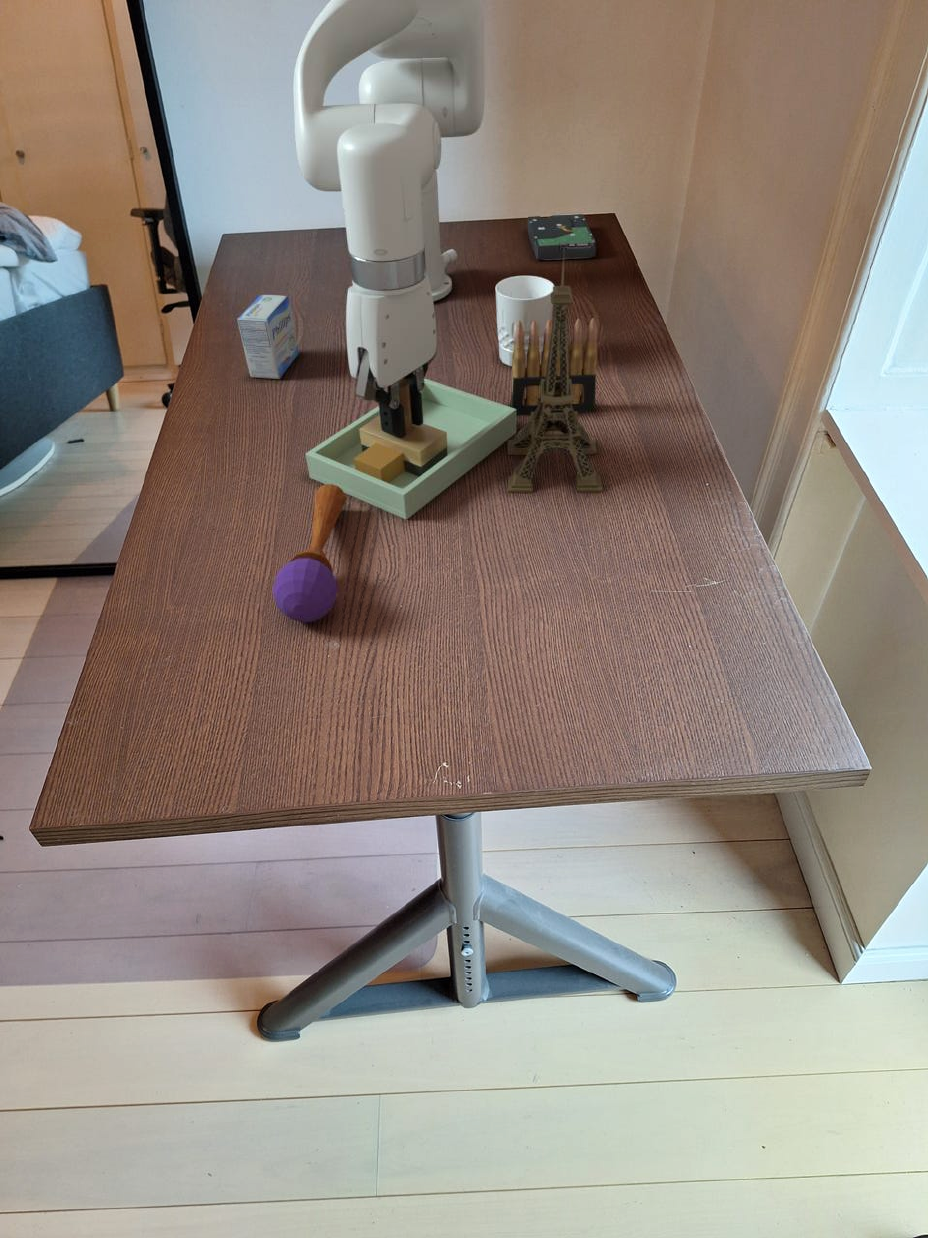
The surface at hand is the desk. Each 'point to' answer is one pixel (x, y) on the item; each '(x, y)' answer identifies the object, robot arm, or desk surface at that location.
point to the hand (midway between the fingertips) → (402, 426)
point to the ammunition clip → (576, 373)
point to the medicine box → (268, 336)
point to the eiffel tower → (543, 421)
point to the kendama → (311, 565)
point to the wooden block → (380, 462)
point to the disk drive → (561, 237)
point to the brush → (409, 438)
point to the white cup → (522, 311)
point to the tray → (469, 441)
